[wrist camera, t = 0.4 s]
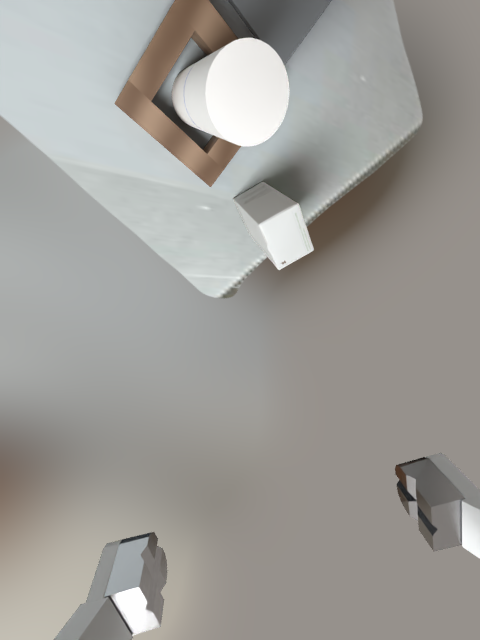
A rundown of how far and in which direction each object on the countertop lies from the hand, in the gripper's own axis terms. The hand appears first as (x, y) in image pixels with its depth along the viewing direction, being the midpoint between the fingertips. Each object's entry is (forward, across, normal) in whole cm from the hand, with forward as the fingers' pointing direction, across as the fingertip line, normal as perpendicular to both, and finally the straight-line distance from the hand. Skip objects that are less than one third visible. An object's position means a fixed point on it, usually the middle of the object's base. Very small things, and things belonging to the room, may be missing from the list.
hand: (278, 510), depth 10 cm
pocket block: (+45, -3, -26) cm, 52 cm away
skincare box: (+52, -8, -9) cm, 54 cm away
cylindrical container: (+46, -3, -26) cm, 52 cm away
